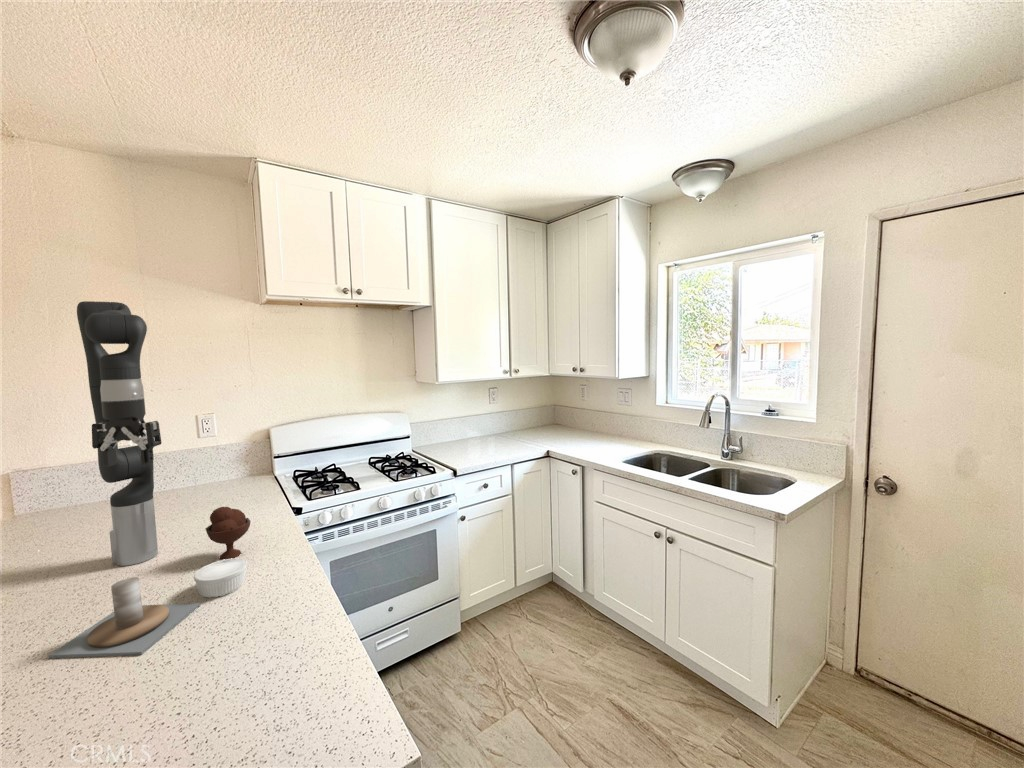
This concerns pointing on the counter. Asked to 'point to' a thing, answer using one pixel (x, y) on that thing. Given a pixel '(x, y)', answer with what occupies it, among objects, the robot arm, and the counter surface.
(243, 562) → the ramekin
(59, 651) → the mat
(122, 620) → the lid
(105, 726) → the counter surface
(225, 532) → the ice cream bowl
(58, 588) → the counter surface
